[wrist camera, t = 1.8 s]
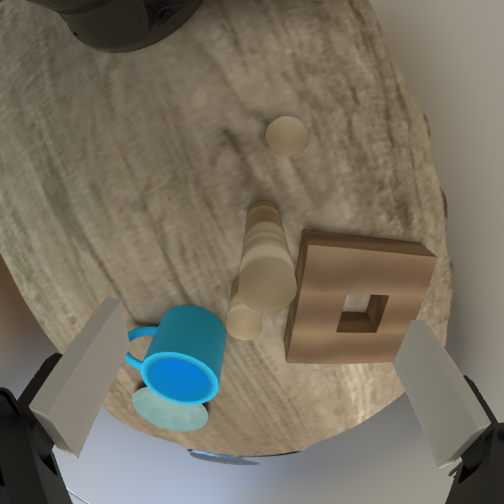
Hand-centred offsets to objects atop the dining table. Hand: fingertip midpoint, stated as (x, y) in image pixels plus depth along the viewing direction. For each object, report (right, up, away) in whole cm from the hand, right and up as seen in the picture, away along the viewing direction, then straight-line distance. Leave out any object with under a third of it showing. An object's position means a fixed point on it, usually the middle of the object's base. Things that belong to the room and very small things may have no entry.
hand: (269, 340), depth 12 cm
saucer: (-13, -19, +29) cm, 37 cm away
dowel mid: (-1, 0, +20) cm, 20 cm away
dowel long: (0, +7, +17) cm, 18 cm away
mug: (-10, -6, +23) cm, 25 cm away
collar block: (+11, -1, +20) cm, 23 cm away
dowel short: (+2, +15, +14) cm, 20 cm away
